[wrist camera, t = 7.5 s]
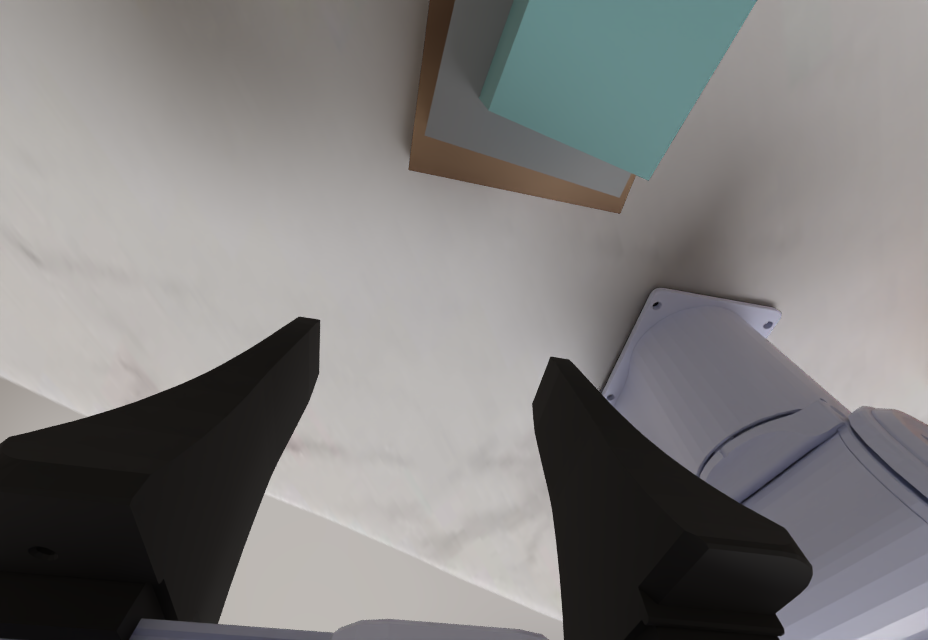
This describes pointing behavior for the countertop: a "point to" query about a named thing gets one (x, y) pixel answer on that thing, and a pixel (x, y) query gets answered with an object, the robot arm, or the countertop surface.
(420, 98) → the walnut slab
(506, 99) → the teal block
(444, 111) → the gray square slab
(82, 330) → the countertop surface
